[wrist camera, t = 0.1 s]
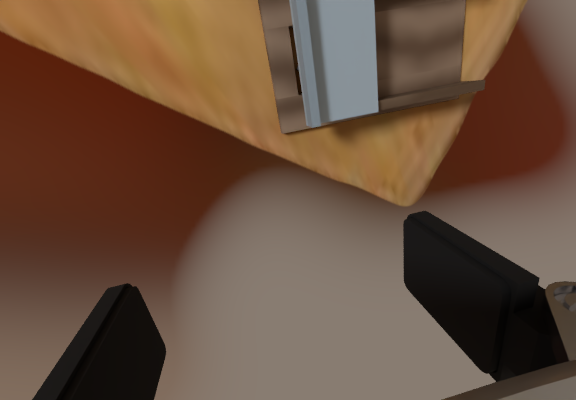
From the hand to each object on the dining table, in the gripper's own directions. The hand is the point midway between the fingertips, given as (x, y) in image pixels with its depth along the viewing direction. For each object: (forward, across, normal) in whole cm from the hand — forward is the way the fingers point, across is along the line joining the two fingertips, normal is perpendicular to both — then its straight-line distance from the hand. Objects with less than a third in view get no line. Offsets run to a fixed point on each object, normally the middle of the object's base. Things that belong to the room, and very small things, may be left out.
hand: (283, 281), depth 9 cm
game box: (+31, -18, -9) cm, 37 cm away
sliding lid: (+26, -12, -9) cm, 30 cm away
